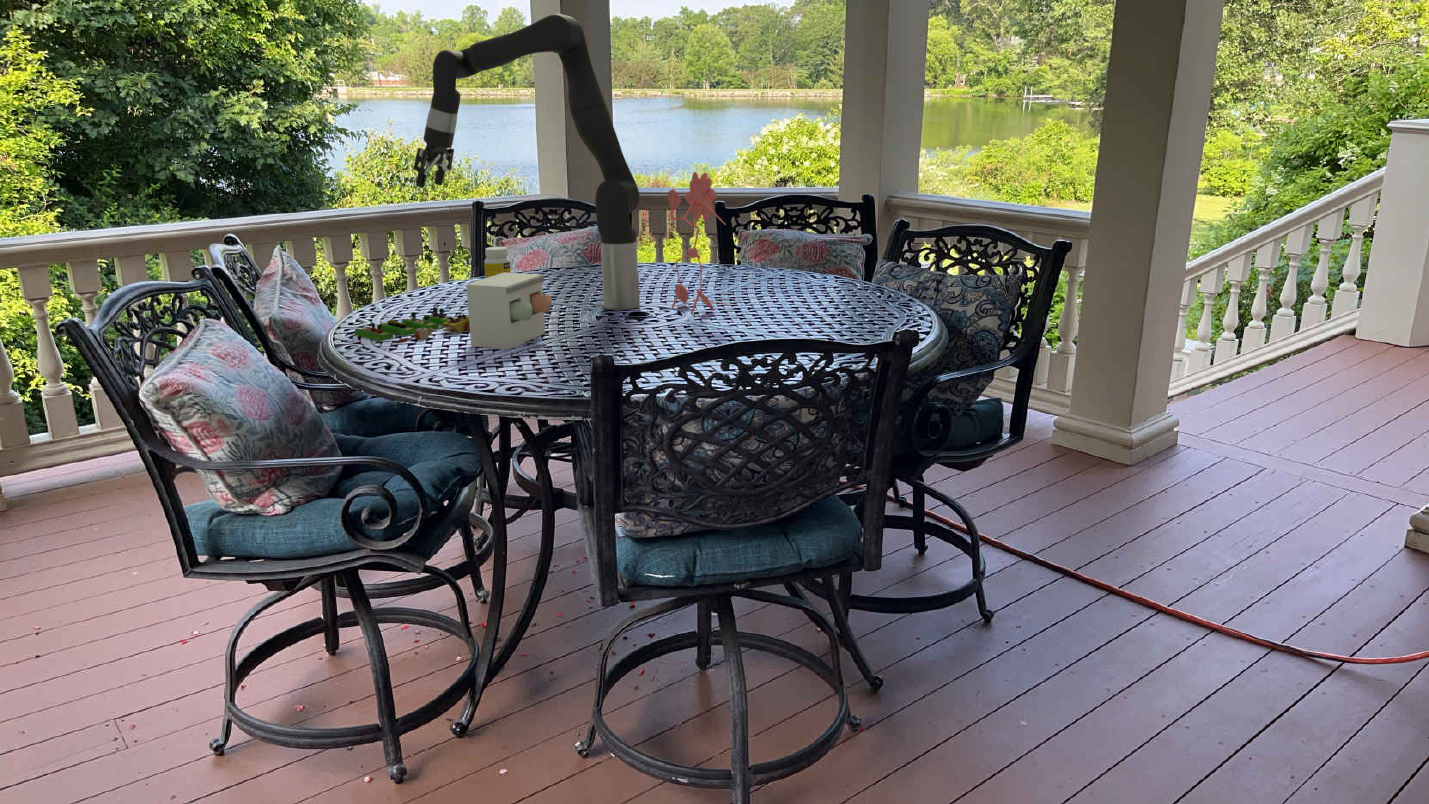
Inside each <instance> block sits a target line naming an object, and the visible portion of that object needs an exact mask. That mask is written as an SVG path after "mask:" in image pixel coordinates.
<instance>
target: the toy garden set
mask: <svg viewBox="0 0 1429 804" xmlns="http://www.w3.org/2000/svg"><path fill="white" fill-rule="evenodd" d="M432 311H433V312H432V314H429V315H428V314H424V315H423V319H420V318H417V317H416V316H417V312H413V311H411V313H410V315H411V316H412V317H411V318H408V319H406V318H403V319H402V320H401V322H399V321H397V320H396V321H394V320H393V319H389V320H387V322H386V323H380V324H379V323H377V324H376V323H374V322H372V321H371V322H370V326H371V327H370V326H369V327H368V326H364V327H362V328H359V327H357V328H355V329H354V336H357V335H359V336H358V337H361V336H362V338H364V337H365V339H369V340H372V341H377V342H380V341H381V342H382V341H385V340H386V341H387V340H391V339H393V338H394V335H397V336H400V337H403V338H401V339H398V340H396V341H395V342H394V343H395V344H397V343H402V342H403V343H404V342H408V341H411V340H412V339H415V340H417V341H418V340H419V341H424V340H425V341H426V340H428V339H429V337H430V335H432V333H433V332H434V330H437V331H440V330H442V331H443V332H446V331H447V332H448V331H449V332H453V333H454V332H455V333H464V331H465V332H467V333H470V325H469V315H466V314H464V313H462V314H461V313H460V314H458V315H457V317H453V316H451V315H450V316H448V315H445V313H444V311H445V308H439V309H438V307H436V306H433V308H432ZM438 311H439V312H438ZM376 326H377V328H376ZM433 329H434V330H433ZM409 335H413V337H405V336H409Z"/></svg>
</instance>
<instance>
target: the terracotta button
mask: <svg viewBox="0 0 1429 804" xmlns="http://www.w3.org/2000/svg"><path fill="white" fill-rule="evenodd" d="M530 304H531V306H532V311H533V312H544V313H549V312H550V311H551V309H552V299H551V296H550V295H549V294H543V295H539V294H530Z"/></svg>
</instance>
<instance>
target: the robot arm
mask: <svg viewBox="0 0 1429 804" xmlns="http://www.w3.org/2000/svg"><path fill="white" fill-rule="evenodd" d="M587 44H588V43H587V41H586V36H585V33H584V30H583V28H582V26H581V24H580V22H578V20H577V19H575V18H574V17H573V16H569V15H566V14H562V13H551V14H549V15H547V16H545V17H543V18H541V19H539V20H538V21H535V22H533V23H532V24H530V25H527V26H525V27H523V28H521V29H517V30H515V31H513V32H510V33H505V34H503V35H499V36H495V37H492V38H488V39H484V40H482V41H477V42H475V43H473V44H471V45H470V46H469V47H468V48H464V49H459V50H454V49H453V50H450V49H443V50H441V51H439V52H438V53H437V54H436V56H435V58H434V60H433V63H432V86H433V93H432V98H431V103H430V106H429V111H428V113H427V118H426V123H425V128H424V135H423V141H424V143H426V145H425V148H421V147H418V148H417V151H416V154H415V155H416V156H415V160H414V164H413V170H414V171H416V172H417V177H416V183H415V185H416V187H418V188H421V189H422V188H425V187H426V183H427V182H426V180H427V176H428V175H427V174H428V173H429V172H430V169H433V168H434V166H436V171H435V176H434V177H435V178H434V180H433V181H434V184H435V185H436V186H440V187H441V186H442V185H443V183H444V179H445V174H446V173H447V171H451V169H452V164H453V160H454V152H455V149H454V148H452V147H453V144H454V143H453V142H454V137H455V134H456V133H455V132H456V129H457V123H458V113H459V109H460V104H461V93H460V91H458V89H457V80H462V79H466V78H469V77H472V76H475V75H477V74H479V73H481V72H484V71H490V70H492V69H496V68H500V67H503V66H505V65H508V64H511V63H513V62H514V61H516V60H519V59H520V58H522V57H525V56H528V55H532V54H538V53H540V54H541V53H551V52H552V53H555V54H557V55H558V57H559V60H560V61H561V64H562V66H563V70H564V72H565V75H566V79H567V84H568V86H567V88H568V107H569V111H570V115H571V118H572V120H573V123H574V126H575V129H576V131H577V135H579V138H580V140H581V141H582V142H583V144H584V145H585V147H586V148H587V149H588V151H589V152H590V153H591V155H592V156H593V158H594V159H595V160H596V162H597V164H598V165H599V167H600V171H601V173H602V176H603V178H604V179H603V181H602V182H601V183H600V184H599V186H597V188H596V191H595V196H594V197H595V215H596V226H597V232H598V233H599V236H600V251H601V273H602V279H601V280H602V300H603V308H604V309H606V310H613V311H616V310H617V311H622V310H623V311H624V310H625V311H626V310H633V309H640V308H641V307H640V306H641V303H640V276H639V275H640V274H639V271H638V249H637V246H638V243H637V240H638V239H637V232H636V230H635V229H634V228H633V227H632V225H631V221H630V220H631V219H630V213H632V212H633V211H635V210H636V209H637V208H638V206H639V205H640V204H639V203H640V200H641V199H640V198H641V196H640V190H639V187H638V185H637V182H636V180H635V177H634V176H633V173H632V172H631V170H630V168H629V164H628V163H627V161H626V158H625V156H624V154H623V151H622V148H621V145H620V141H619V138H618V135H617V133H616V130H615V128H614V124H613V121H612V118H611V114H610V112H609V109H608V106H607V103H606V101H605V98H604V95H603V93H602V89H601V87H600V84H599V81H598V79H597V76H596V74H595V71H594V69H593V68H594V67H593V65H592V62H591V61H592V60H591V58H590V53H589V49H588V45H587Z"/></svg>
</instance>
